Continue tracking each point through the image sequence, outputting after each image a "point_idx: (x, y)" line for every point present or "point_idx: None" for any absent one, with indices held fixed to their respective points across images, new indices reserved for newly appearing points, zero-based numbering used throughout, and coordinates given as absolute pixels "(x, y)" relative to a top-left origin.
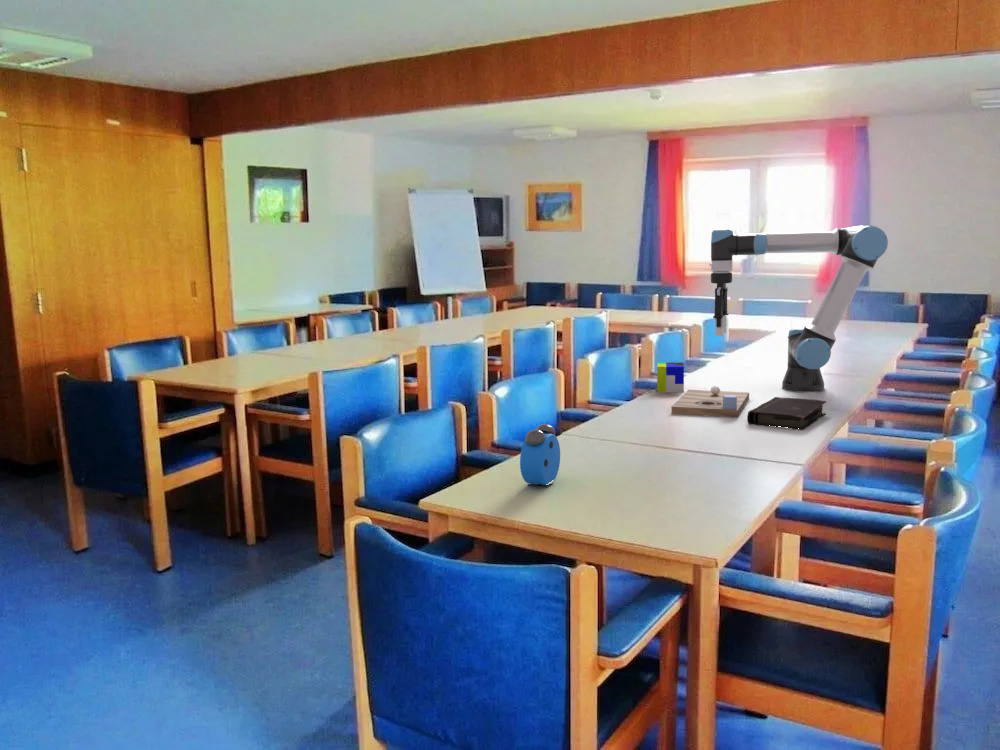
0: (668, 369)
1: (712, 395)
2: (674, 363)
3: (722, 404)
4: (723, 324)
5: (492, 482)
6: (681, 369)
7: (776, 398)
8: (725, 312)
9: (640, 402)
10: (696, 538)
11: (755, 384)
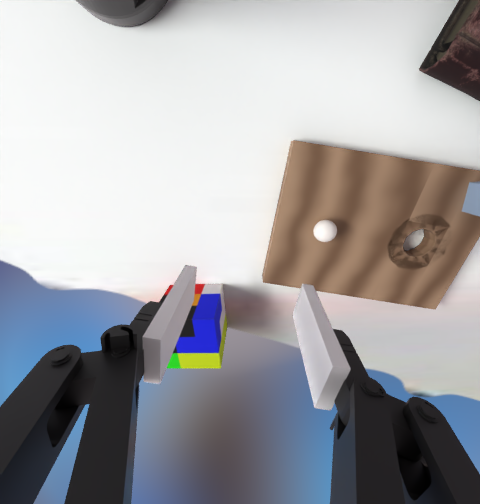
0: (219, 343)
1: None
2: None
3: (438, 212)
4: (182, 308)
5: None
6: (216, 319)
7: (469, 52)
8: (135, 369)
9: None
10: None
11: (92, 116)
